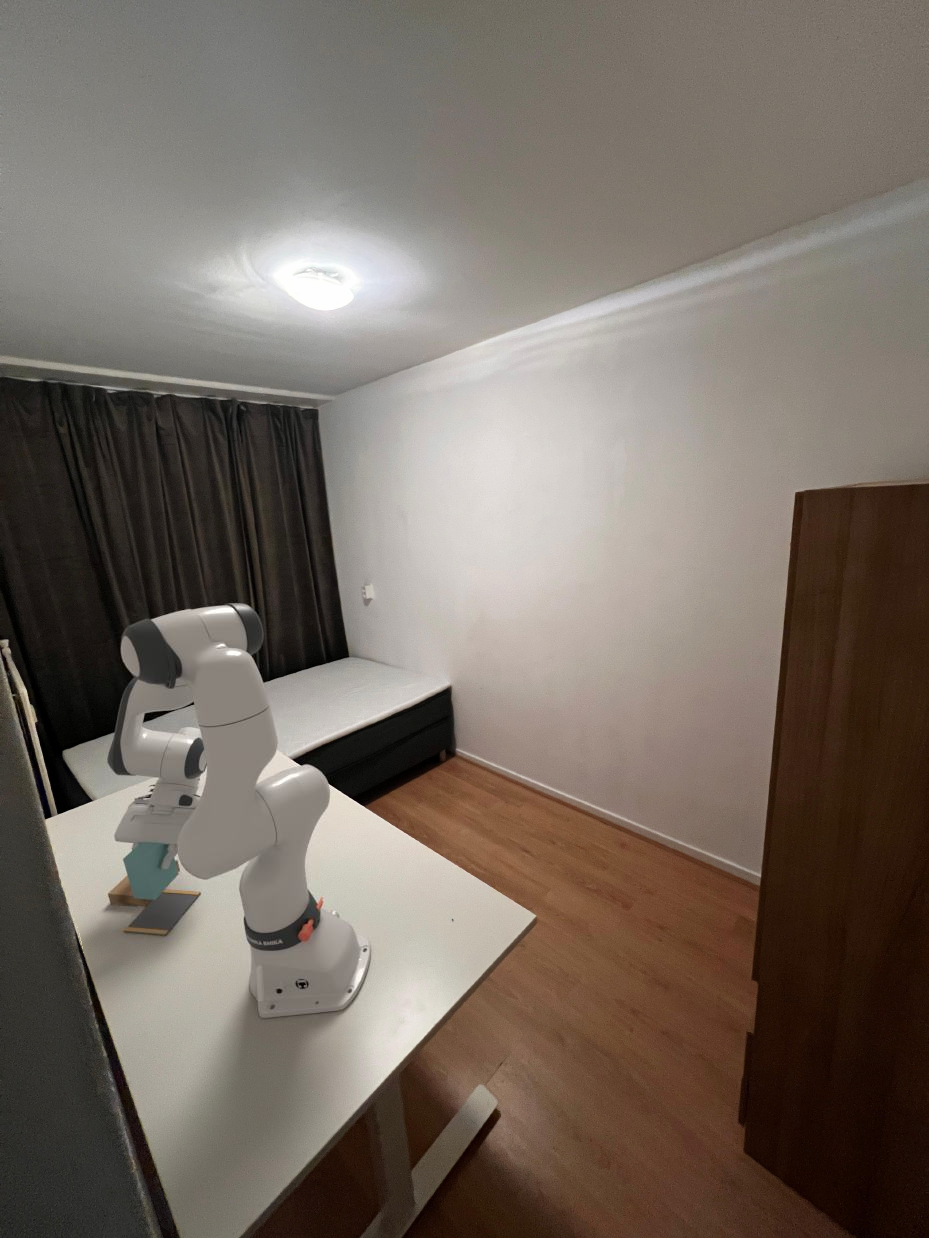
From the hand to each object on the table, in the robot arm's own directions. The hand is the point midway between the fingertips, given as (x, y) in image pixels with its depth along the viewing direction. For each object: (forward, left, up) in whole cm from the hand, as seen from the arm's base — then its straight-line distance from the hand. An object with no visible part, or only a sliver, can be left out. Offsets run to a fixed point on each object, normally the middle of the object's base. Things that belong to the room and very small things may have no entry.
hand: (149, 867), depth 103 cm
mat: (0, -1, -12) cm, 12 cm away
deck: (+10, -7, -12) cm, 17 cm away
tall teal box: (0, -1, -5) cm, 5 cm away
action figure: (+32, -41, -13) cm, 53 cm away
